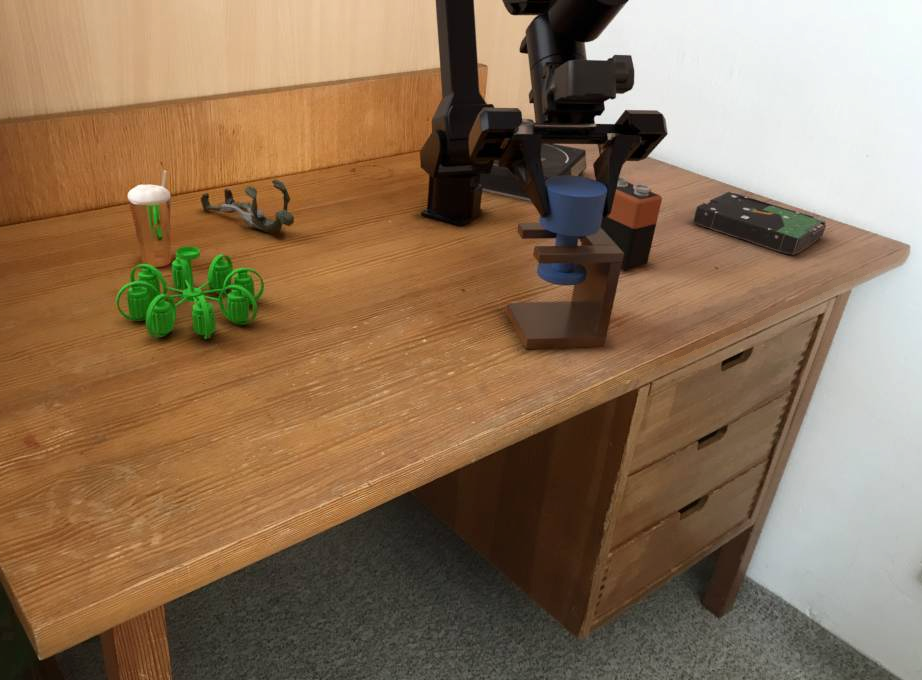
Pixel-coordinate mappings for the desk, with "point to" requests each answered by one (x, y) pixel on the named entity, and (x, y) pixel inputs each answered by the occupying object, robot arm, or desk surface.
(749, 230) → the disk drive
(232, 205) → the zombie figurine
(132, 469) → the desk surface
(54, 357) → the desk surface
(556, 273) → the peg
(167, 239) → the milkshake
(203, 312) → the chandelier
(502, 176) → the portable cd player
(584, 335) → the brown slotted stand
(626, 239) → the battery
